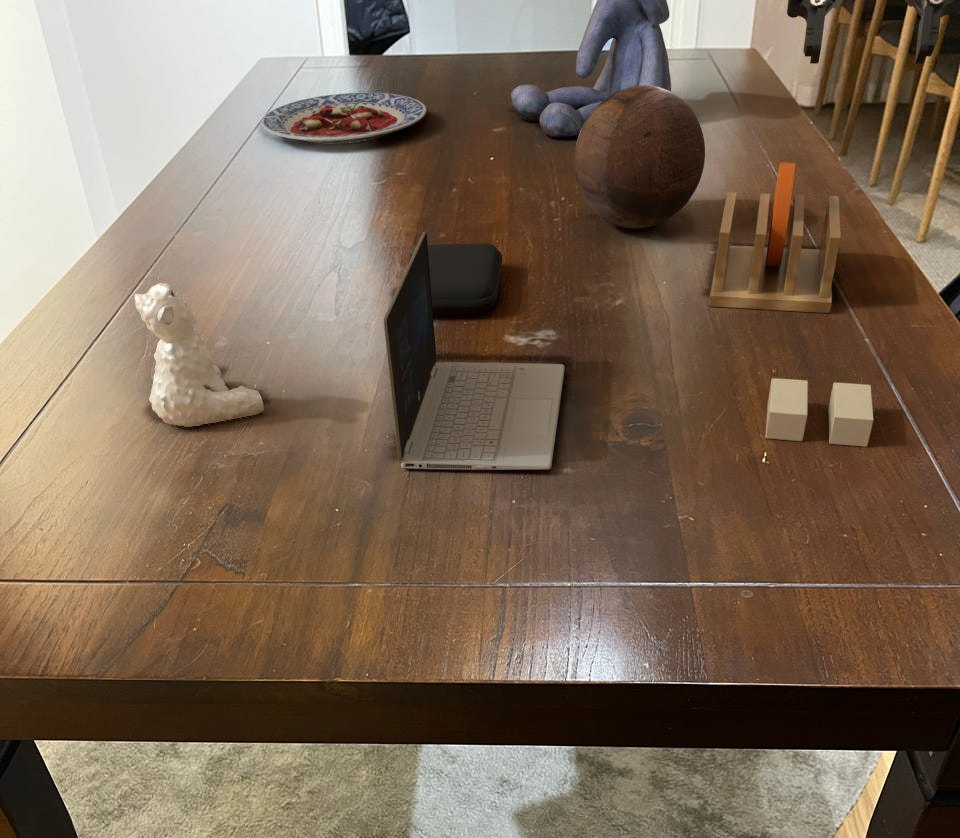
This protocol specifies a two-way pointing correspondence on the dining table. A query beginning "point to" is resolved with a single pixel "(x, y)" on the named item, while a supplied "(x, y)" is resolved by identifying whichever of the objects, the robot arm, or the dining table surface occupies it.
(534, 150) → the dining table surface
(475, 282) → the carrying case
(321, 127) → the ceramic plate
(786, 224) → the disc
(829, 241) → the rack
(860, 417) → the cubes
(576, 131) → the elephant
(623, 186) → the wooden sphere
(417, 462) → the laptop
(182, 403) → the white creature statuette
